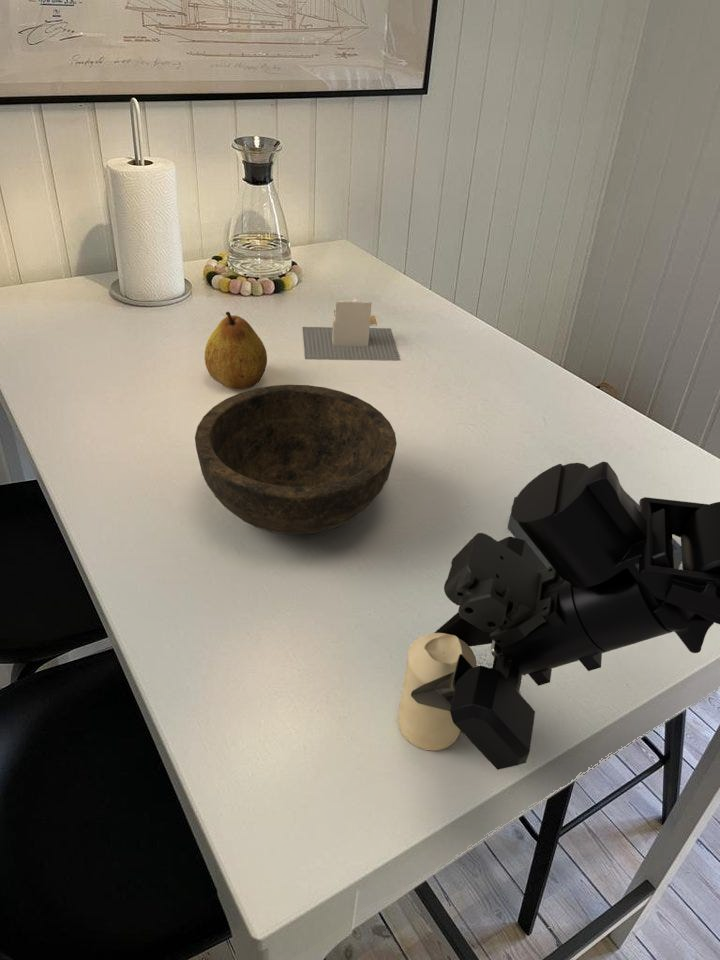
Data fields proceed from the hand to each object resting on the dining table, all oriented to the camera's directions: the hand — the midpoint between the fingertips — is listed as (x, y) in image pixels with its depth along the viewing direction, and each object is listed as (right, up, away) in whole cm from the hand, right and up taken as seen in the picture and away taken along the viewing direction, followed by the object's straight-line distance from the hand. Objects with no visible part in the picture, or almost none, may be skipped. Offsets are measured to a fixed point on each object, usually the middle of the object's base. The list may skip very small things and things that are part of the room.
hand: (422, 669), depth 61 cm
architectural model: (-7, +38, +61) cm, 72 cm away
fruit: (-23, +30, +48) cm, 61 cm away
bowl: (-13, +12, +26) cm, 32 cm away
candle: (+1, -6, +4) cm, 7 cm away
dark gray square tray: (+20, +7, +23) cm, 32 cm away
